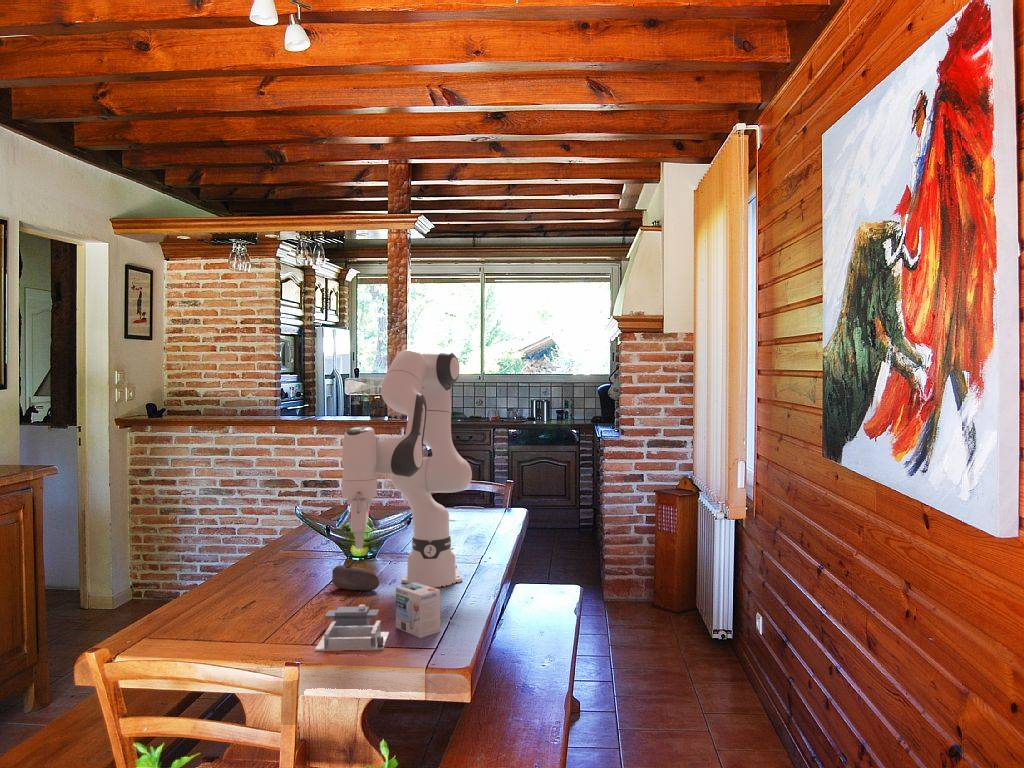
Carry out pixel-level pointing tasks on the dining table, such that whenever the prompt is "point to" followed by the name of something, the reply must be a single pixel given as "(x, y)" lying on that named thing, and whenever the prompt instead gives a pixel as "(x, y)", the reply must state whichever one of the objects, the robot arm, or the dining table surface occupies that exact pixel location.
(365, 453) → the robot arm
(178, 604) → the dining table surface
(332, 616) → the servo
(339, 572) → the perforated stone tool
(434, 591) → the light bulb box
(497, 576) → the dining table surface
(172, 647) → the dining table surface
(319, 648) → the chassis
